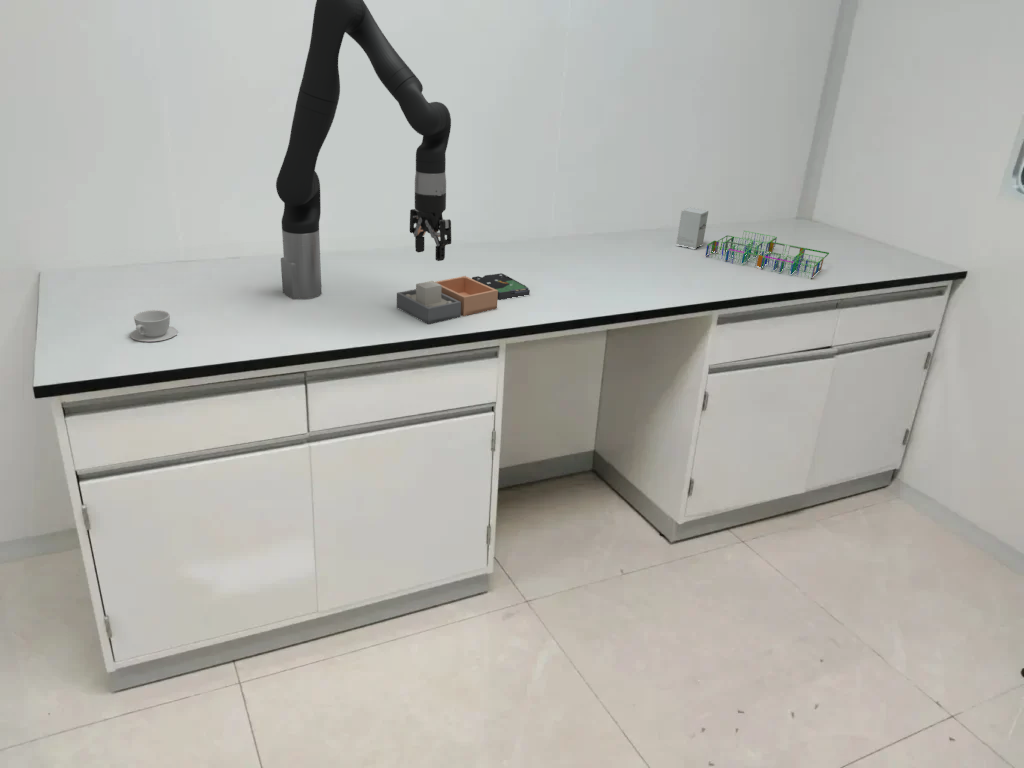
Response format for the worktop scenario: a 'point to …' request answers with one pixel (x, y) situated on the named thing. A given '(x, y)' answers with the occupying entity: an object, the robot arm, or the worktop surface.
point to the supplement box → (692, 227)
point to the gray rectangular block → (428, 292)
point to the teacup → (153, 326)
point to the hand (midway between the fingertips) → (429, 255)
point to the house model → (762, 258)
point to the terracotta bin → (470, 294)
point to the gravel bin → (429, 307)
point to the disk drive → (503, 285)
